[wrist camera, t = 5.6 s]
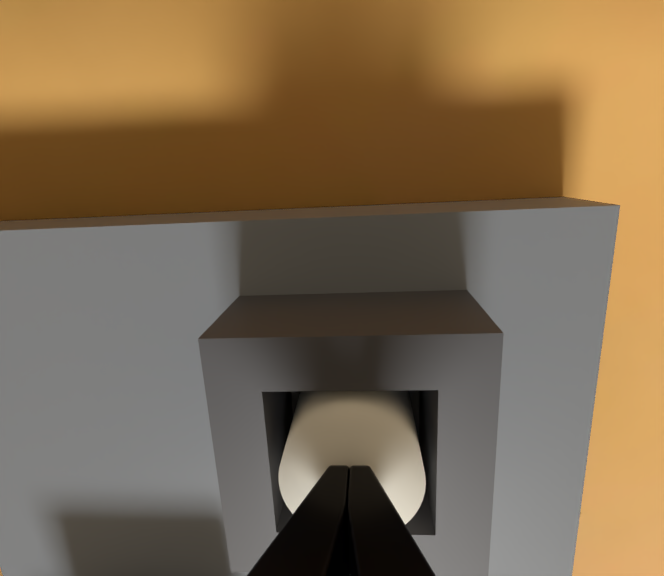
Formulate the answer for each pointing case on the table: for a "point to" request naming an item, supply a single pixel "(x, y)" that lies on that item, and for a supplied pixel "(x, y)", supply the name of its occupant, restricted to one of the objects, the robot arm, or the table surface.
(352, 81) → the table surface
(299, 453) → the button
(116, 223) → the console
